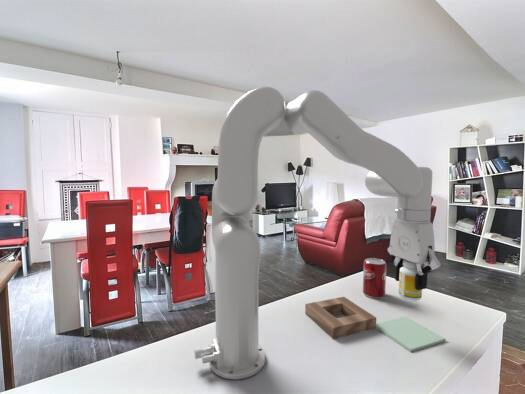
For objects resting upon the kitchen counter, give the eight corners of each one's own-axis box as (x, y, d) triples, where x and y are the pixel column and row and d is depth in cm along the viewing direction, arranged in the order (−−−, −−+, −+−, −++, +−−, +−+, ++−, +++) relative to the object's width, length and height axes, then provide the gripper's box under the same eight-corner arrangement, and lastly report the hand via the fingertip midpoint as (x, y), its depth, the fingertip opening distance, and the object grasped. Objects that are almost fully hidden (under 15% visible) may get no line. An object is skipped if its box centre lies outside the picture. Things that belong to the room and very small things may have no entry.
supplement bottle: (393, 294, 75) (395, 258, 74) (409, 291, 77) (410, 256, 76) (410, 302, 70) (412, 265, 69) (426, 299, 72) (428, 262, 71)
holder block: (332, 339, 72) (333, 327, 72) (305, 313, 85) (305, 304, 85) (376, 328, 77) (376, 317, 77) (343, 305, 90) (343, 296, 90)
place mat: (410, 351, 67) (410, 349, 67) (373, 326, 78) (373, 324, 78) (445, 340, 71) (445, 338, 71) (405, 318, 82) (405, 316, 82)
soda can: (366, 299, 95) (367, 264, 94) (360, 290, 102) (361, 257, 101) (388, 299, 94) (390, 264, 93) (380, 290, 102) (381, 258, 101)
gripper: (376, 212, 78) (374, 275, 80) (434, 222, 63) (430, 300, 64) (397, 210, 81) (394, 271, 83) (457, 219, 65) (452, 295, 67)
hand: (410, 283), depth 73 cm, fingers closed on supplement bottle, 5 cm apart
